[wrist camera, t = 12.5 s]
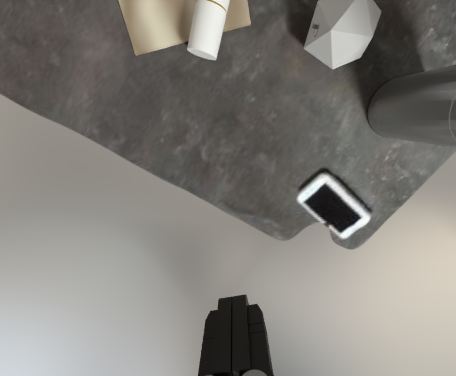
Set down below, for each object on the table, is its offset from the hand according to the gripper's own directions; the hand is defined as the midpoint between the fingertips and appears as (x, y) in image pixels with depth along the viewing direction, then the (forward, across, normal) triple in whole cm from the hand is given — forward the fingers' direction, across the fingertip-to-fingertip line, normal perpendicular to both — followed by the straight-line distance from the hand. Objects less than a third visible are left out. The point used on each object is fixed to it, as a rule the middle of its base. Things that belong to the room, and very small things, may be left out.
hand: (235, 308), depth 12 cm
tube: (+26, +1, -19) cm, 32 cm away
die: (+29, -18, -17) cm, 38 cm away
